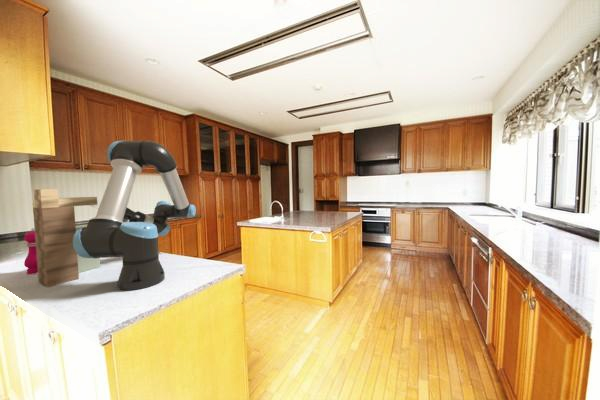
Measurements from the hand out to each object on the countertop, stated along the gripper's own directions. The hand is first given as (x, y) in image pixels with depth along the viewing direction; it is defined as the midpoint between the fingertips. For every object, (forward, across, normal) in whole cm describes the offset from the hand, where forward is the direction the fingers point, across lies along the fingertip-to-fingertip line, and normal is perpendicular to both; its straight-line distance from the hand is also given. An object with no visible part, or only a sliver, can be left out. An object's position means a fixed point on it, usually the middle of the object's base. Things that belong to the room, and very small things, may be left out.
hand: (96, 202), depth 105 cm
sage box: (-12, +7, -29) cm, 32 cm away
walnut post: (-4, -1, -34) cm, 34 cm away
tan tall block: (+8, -1, -6) cm, 10 cm away
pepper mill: (-4, +24, -34) cm, 42 cm away
